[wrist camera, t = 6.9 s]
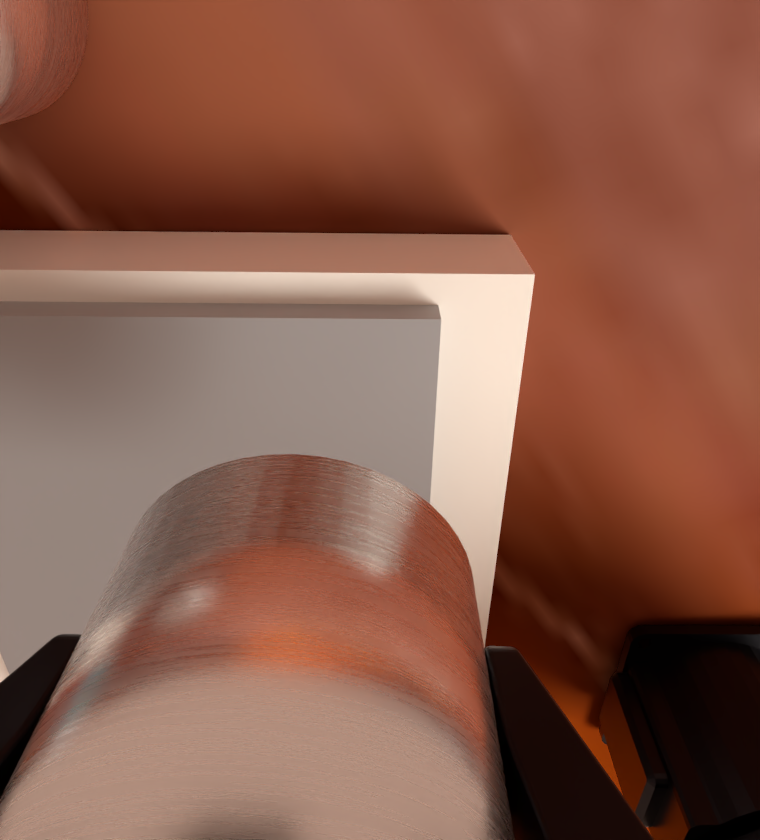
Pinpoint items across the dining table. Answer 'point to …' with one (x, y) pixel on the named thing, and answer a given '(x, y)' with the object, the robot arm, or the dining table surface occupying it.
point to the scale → (240, 386)
